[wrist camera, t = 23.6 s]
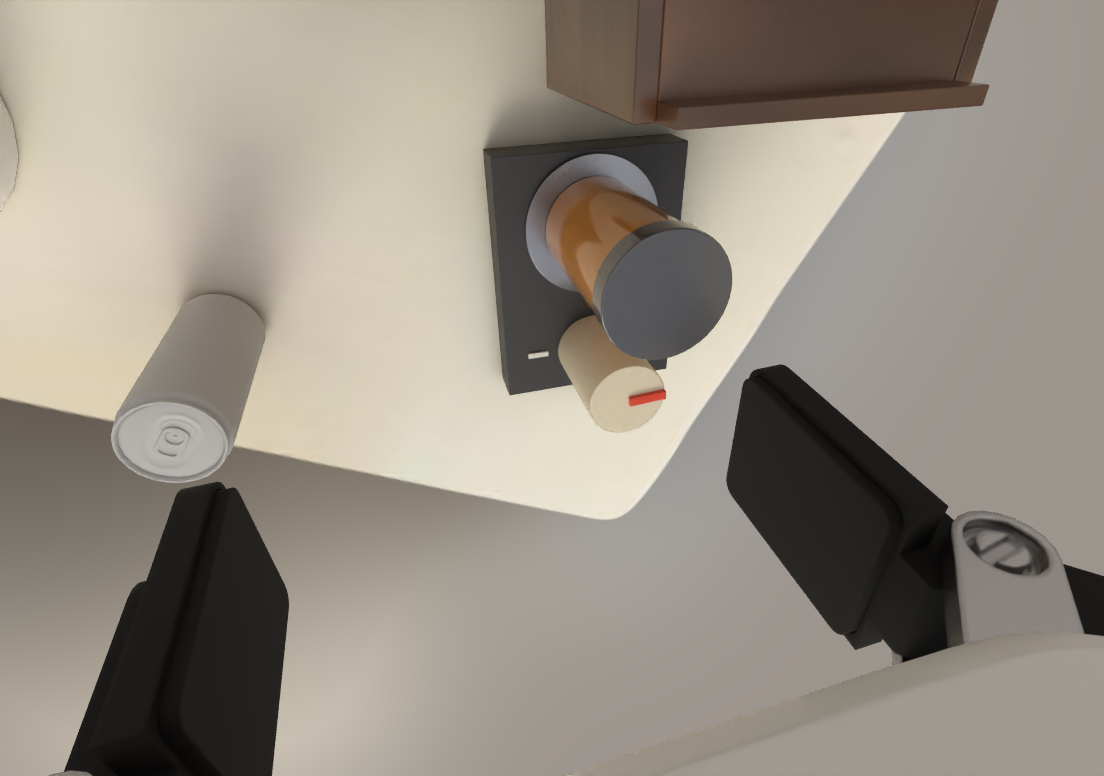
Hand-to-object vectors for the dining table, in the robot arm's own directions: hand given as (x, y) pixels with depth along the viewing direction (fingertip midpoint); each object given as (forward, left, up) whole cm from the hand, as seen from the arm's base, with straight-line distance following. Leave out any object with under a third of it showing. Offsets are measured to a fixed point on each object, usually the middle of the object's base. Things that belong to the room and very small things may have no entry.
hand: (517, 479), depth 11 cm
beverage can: (+9, -13, -28) cm, 32 cm away
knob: (+13, +10, -26) cm, 30 cm away
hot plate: (+8, +10, -28) cm, 31 cm away
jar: (+4, +10, -25) cm, 28 cm away
